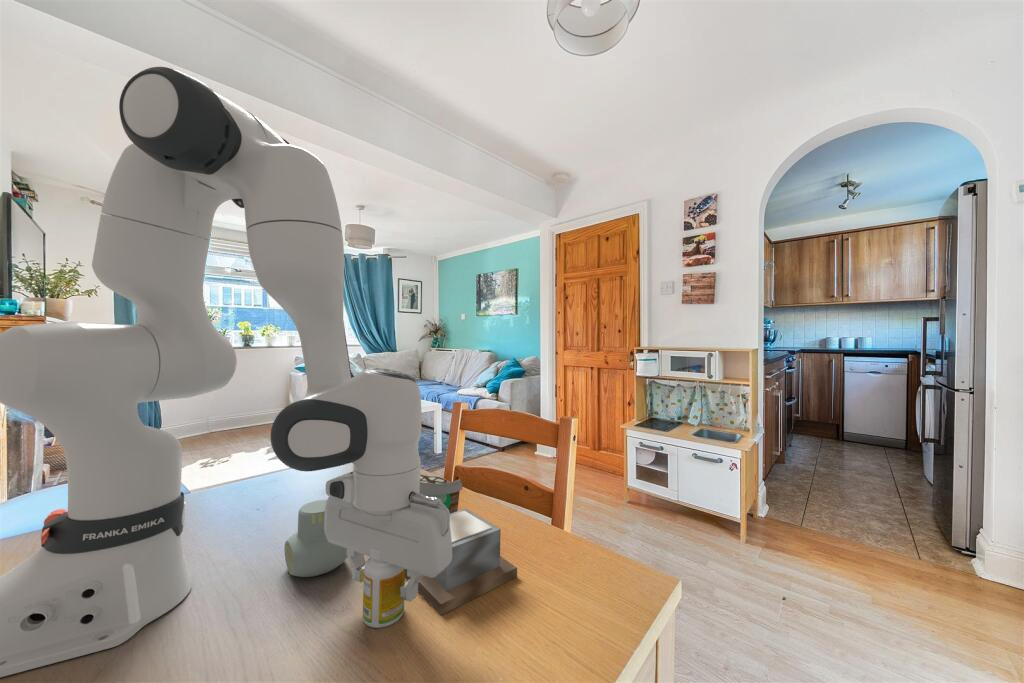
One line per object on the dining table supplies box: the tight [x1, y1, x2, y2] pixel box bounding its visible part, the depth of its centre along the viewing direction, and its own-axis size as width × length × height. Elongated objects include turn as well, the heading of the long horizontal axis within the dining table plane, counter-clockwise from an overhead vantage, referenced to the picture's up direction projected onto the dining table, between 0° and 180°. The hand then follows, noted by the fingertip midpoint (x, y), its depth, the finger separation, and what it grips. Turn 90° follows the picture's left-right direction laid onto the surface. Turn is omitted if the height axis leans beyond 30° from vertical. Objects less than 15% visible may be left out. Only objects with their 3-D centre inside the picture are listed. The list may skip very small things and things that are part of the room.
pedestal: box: [405, 508, 518, 616], centre depth 62 cm, size 14×14×8 cm
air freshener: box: [283, 499, 348, 578], centre depth 63 cm, size 11×8×10 cm
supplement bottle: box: [362, 549, 406, 629], centre depth 52 cm, size 5×5×10 cm
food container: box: [420, 474, 463, 513], centre depth 77 cm, size 12×6×10 cm, turn 62°
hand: (384, 588), depth 52 cm, fingers open, 7 cm apart
